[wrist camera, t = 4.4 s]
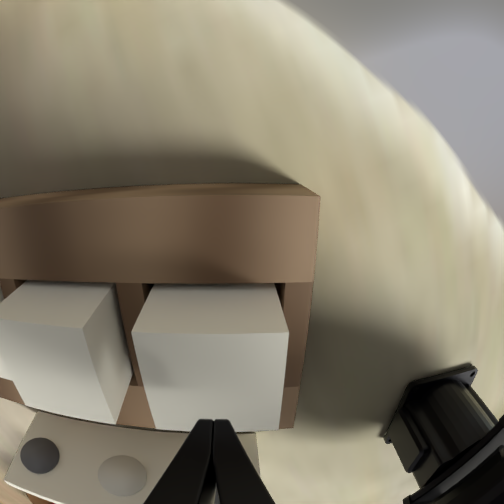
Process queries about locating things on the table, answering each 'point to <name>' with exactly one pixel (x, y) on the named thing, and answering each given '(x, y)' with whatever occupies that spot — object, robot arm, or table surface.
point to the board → (168, 254)
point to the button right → (213, 354)
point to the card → (96, 461)
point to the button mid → (67, 348)
